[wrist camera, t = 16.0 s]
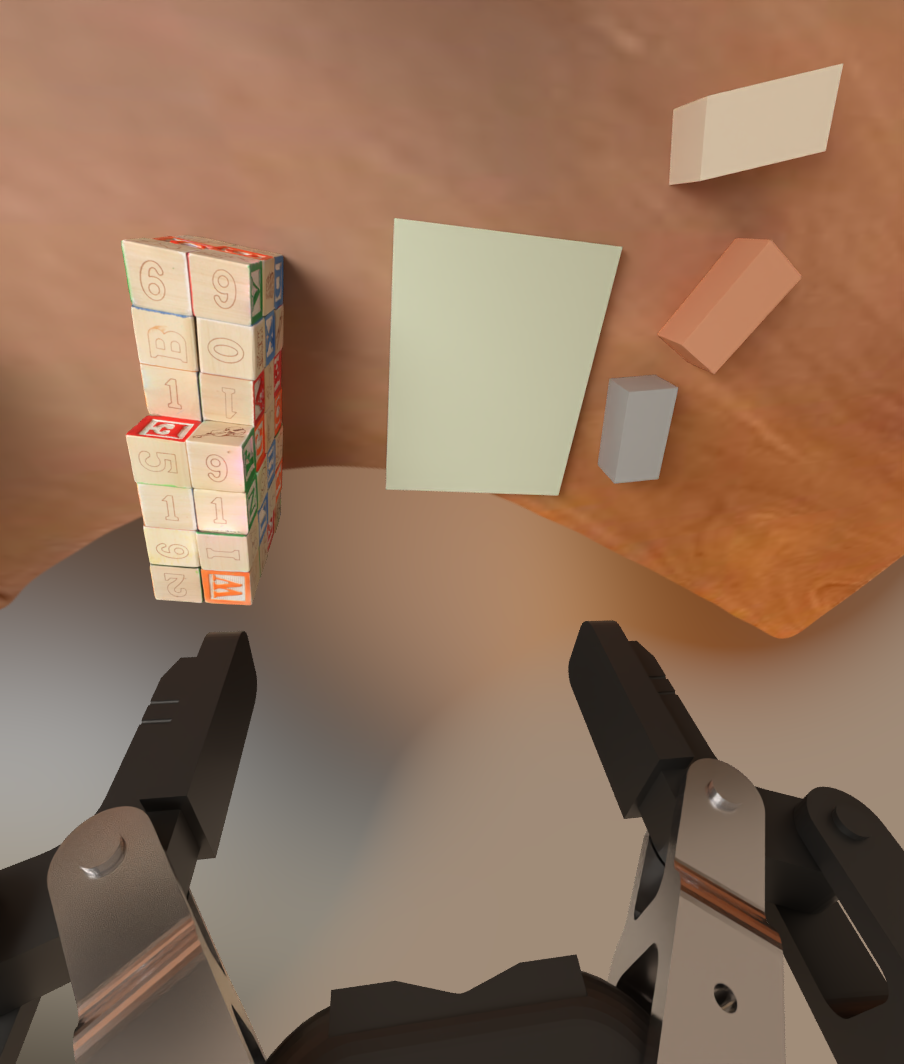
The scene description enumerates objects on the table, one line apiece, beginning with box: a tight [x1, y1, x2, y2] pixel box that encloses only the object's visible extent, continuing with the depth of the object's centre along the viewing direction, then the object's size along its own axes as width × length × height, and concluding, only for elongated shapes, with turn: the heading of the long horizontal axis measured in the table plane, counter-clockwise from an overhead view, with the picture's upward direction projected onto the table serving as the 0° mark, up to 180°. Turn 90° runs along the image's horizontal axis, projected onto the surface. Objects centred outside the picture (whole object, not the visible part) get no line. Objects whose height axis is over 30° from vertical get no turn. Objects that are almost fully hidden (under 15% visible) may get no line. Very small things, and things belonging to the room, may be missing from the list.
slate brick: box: [598, 375, 678, 484], centre depth 40 cm, size 8×4×4 cm, turn 3°
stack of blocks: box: [122, 235, 284, 605], centre depth 32 cm, size 21×6×12 cm, turn 168°
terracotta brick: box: [657, 238, 802, 374], centre depth 36 cm, size 8×4×4 cm, turn 146°
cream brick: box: [669, 64, 843, 185], centre depth 30 cm, size 8×4×4 cm, turn 101°
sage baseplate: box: [386, 218, 622, 495], centre depth 38 cm, size 20×16×1 cm
